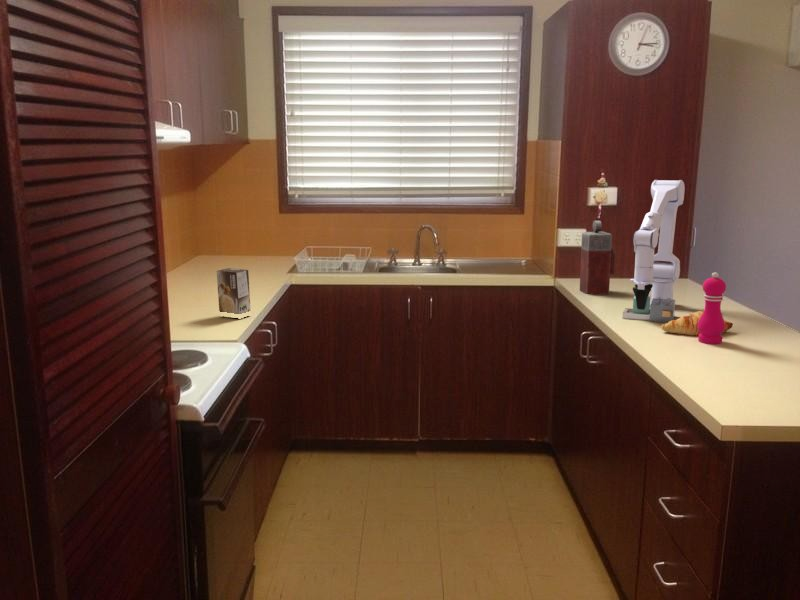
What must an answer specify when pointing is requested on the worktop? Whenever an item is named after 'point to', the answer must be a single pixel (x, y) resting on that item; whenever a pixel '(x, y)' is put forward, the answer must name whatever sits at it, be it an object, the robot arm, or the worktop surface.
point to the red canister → (596, 261)
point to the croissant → (688, 325)
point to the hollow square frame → (654, 311)
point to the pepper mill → (712, 311)
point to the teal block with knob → (641, 311)
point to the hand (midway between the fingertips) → (641, 307)
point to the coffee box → (233, 291)
